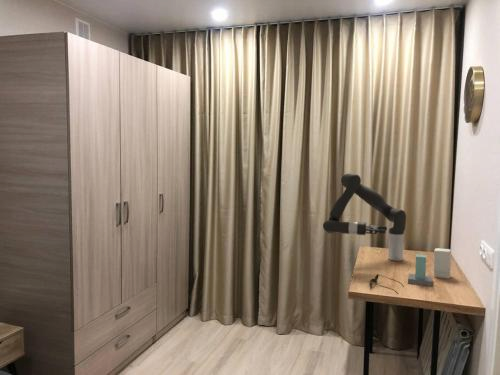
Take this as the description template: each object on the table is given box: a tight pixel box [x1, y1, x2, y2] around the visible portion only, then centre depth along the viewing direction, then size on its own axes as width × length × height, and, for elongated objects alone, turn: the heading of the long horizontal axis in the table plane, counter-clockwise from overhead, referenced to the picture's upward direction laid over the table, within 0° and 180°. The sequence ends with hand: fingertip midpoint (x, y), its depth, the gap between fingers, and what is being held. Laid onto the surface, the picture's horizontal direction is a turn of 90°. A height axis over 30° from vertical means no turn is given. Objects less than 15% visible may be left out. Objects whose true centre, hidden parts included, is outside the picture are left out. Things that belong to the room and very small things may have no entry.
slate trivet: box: [407, 273, 433, 287], centre depth 221 cm, size 10×12×2 cm
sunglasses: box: [369, 273, 405, 295], centre depth 212 cm, size 14×15×5 cm
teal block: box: [414, 253, 427, 279], centre depth 220 cm, size 5×5×12 cm
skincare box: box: [433, 247, 452, 280], centre depth 229 cm, size 8×7×16 cm
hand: (386, 229), depth 234 cm, fingers open, 8 cm apart
